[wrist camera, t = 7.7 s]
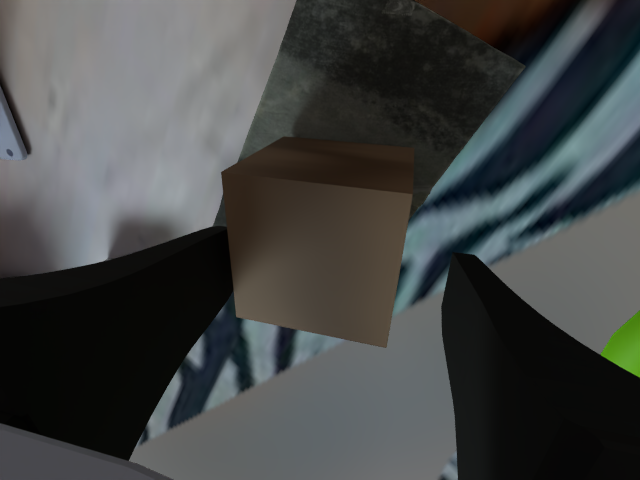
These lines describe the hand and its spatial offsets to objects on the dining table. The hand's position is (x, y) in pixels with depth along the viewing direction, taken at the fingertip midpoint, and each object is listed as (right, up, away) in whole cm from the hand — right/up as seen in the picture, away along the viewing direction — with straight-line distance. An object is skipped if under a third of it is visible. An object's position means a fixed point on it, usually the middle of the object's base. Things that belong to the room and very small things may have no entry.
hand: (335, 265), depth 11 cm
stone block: (0, +6, +8) cm, 9 cm away
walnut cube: (0, +2, +3) cm, 4 cm away
